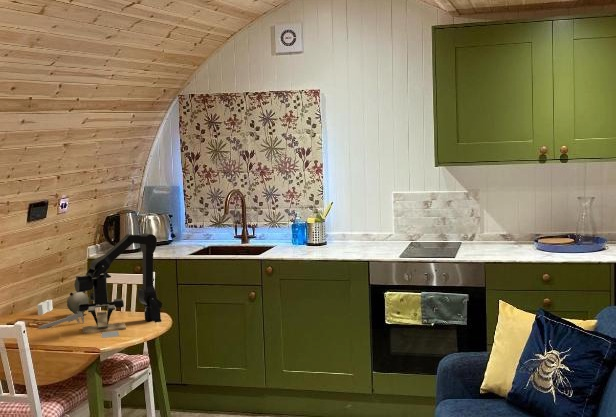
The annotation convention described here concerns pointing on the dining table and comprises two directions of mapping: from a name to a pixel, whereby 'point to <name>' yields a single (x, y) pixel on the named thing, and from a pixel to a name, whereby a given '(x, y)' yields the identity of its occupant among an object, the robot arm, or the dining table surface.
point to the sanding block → (102, 320)
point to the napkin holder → (44, 307)
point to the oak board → (110, 328)
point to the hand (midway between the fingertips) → (102, 324)
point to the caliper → (69, 319)
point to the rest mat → (110, 334)
